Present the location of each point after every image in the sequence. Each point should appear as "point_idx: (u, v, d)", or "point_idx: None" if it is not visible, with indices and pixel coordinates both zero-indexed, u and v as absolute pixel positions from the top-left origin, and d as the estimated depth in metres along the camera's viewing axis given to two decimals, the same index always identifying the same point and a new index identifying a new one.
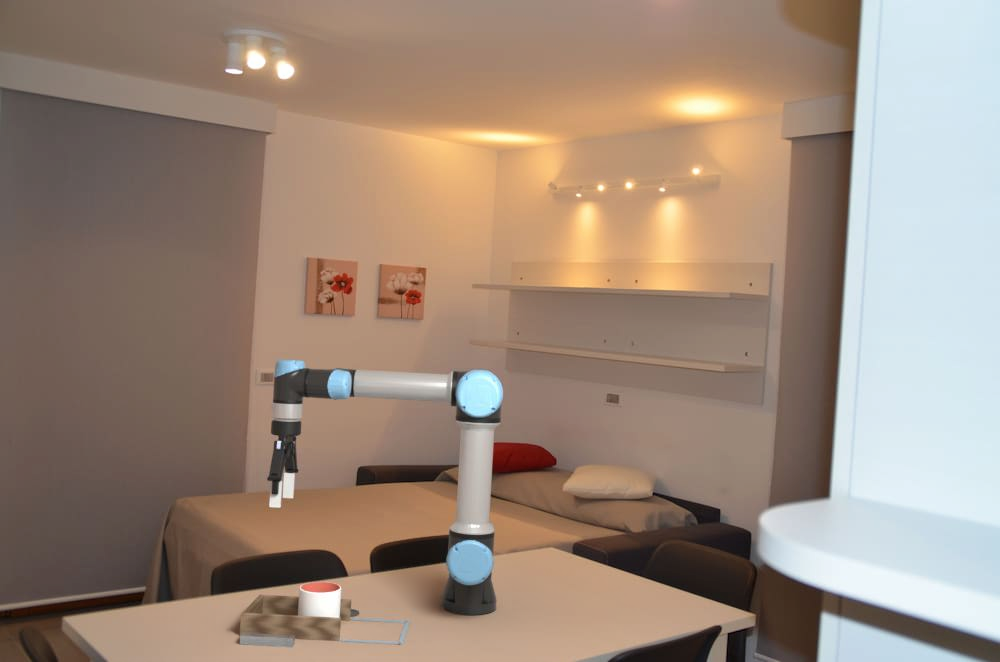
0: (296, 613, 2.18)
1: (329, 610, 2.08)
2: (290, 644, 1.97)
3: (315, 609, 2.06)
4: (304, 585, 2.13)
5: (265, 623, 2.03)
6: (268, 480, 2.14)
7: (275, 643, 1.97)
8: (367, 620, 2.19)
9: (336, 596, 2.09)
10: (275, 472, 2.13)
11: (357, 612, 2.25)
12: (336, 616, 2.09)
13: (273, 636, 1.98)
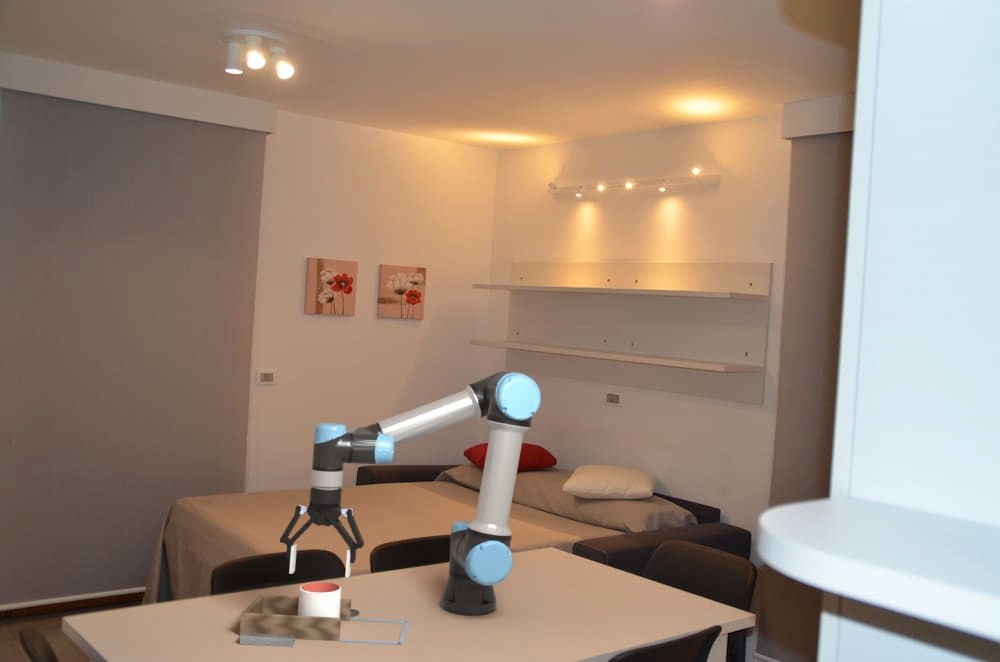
0: (296, 613, 2.18)
1: (329, 610, 2.08)
2: (290, 644, 1.97)
3: (315, 609, 2.06)
4: (304, 585, 2.13)
5: (265, 623, 2.03)
6: None
7: (275, 643, 1.97)
8: (367, 620, 2.19)
9: (336, 596, 2.09)
10: (283, 534, 2.11)
11: (357, 612, 2.25)
12: (336, 616, 2.09)
13: (273, 636, 1.98)
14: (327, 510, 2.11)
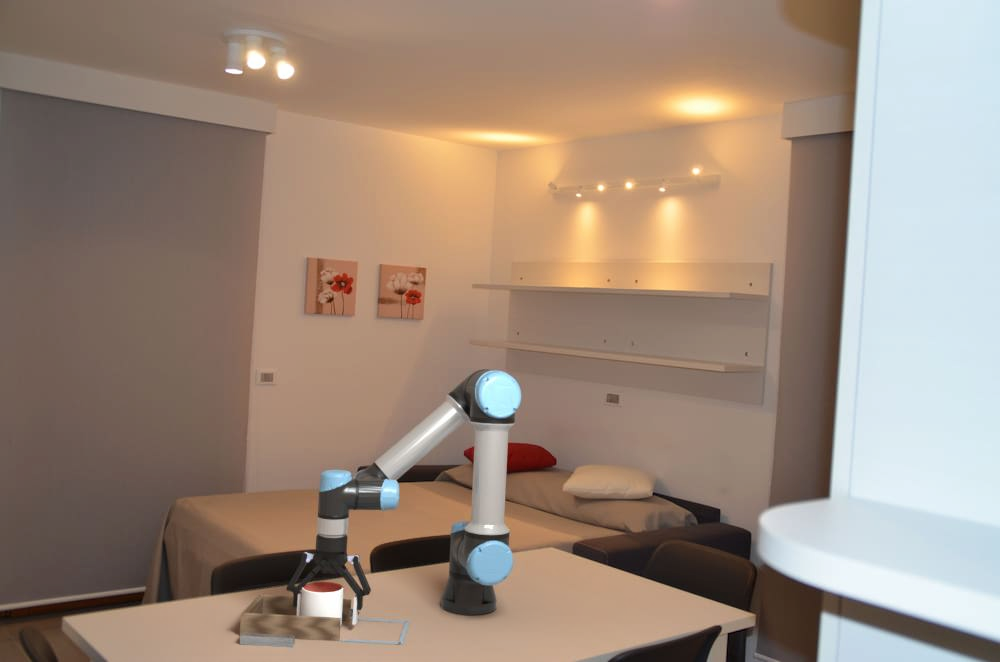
0: (296, 613, 2.18)
1: (332, 610, 2.08)
2: (290, 644, 1.97)
3: (318, 609, 2.06)
4: (306, 585, 2.13)
5: (265, 623, 2.03)
6: None
7: (275, 643, 1.97)
8: (367, 620, 2.19)
9: (339, 596, 2.09)
10: None
11: None
12: (338, 616, 2.09)
13: (273, 636, 1.98)
14: (333, 558, 2.10)
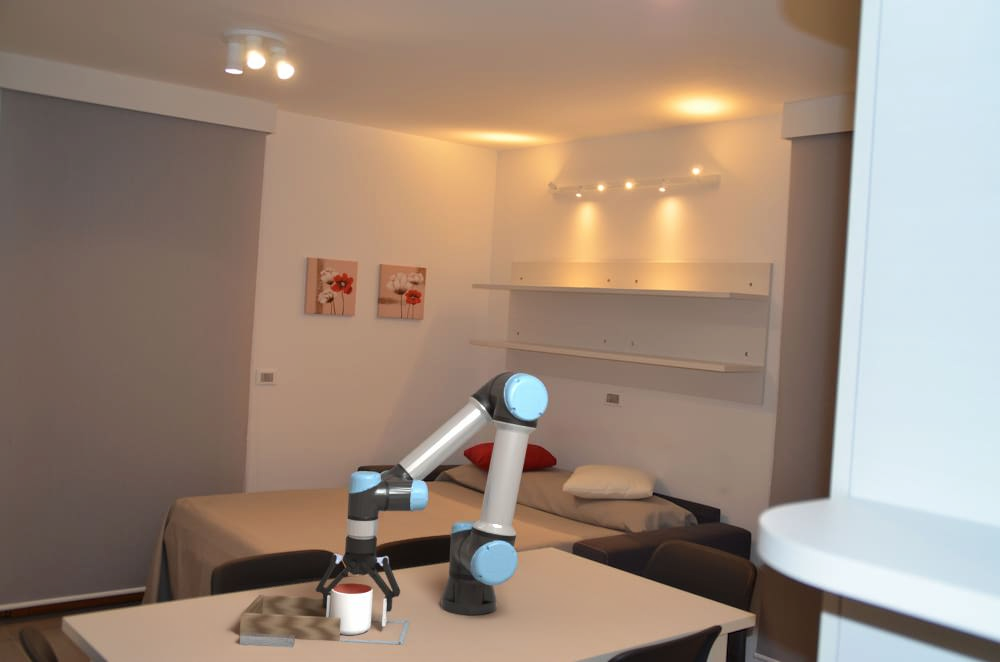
0: (296, 613, 2.18)
1: (362, 611, 2.08)
2: (290, 644, 1.97)
3: (348, 611, 2.06)
4: (335, 586, 2.13)
5: (265, 623, 2.03)
6: None
7: (275, 643, 1.97)
8: None
9: (369, 598, 2.09)
10: None
11: None
12: (368, 617, 2.10)
13: (273, 636, 1.98)
14: (363, 559, 2.11)
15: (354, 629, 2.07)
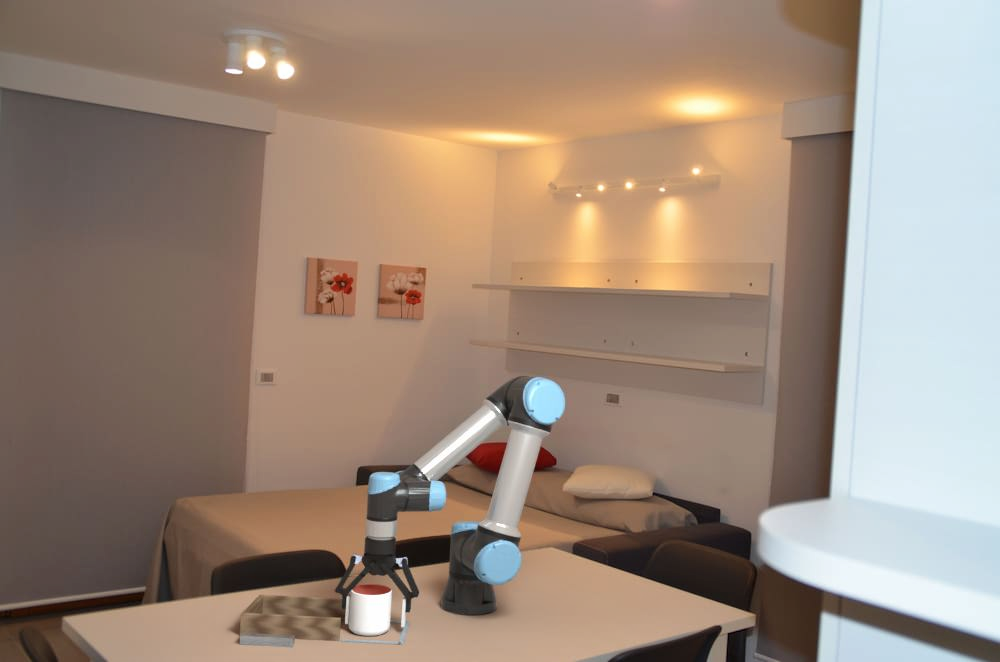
0: (296, 613, 2.18)
1: (381, 612, 2.08)
2: (290, 644, 1.97)
3: (368, 612, 2.06)
4: (354, 587, 2.13)
5: (265, 623, 2.03)
6: None
7: (275, 643, 1.97)
8: None
9: (388, 599, 2.09)
10: None
11: None
12: (388, 618, 2.10)
13: (273, 636, 1.98)
14: (382, 560, 2.11)
15: (374, 630, 2.07)
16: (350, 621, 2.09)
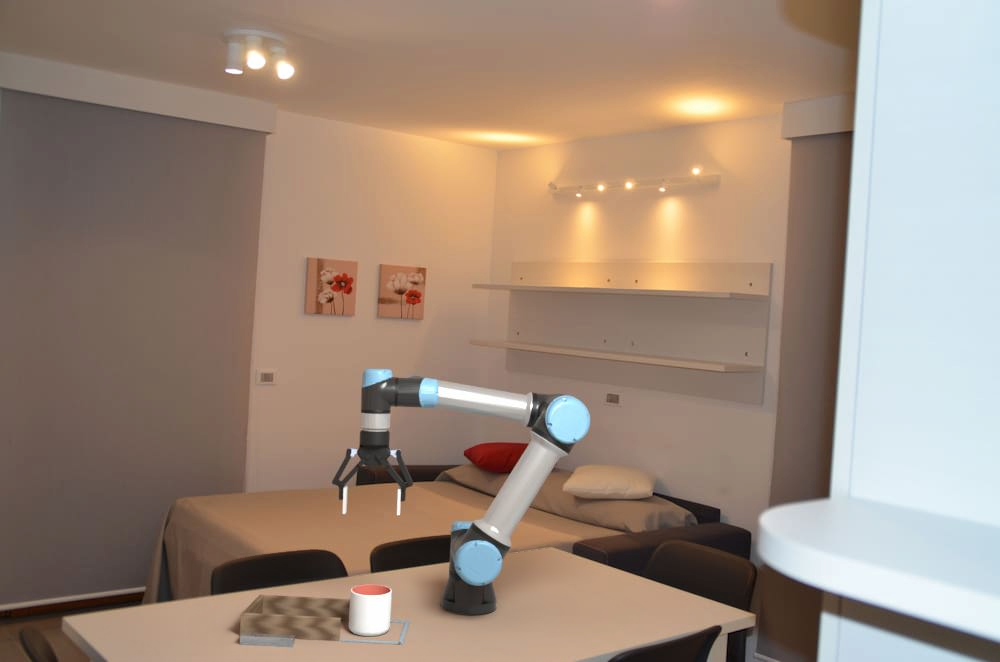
0: (296, 613, 2.18)
1: (381, 613, 2.08)
2: (290, 644, 1.97)
3: (368, 612, 2.06)
4: (354, 588, 2.13)
5: (265, 623, 2.03)
6: None
7: (275, 643, 1.97)
8: None
9: (388, 599, 2.09)
10: None
11: None
12: (388, 619, 2.10)
13: (273, 636, 1.98)
14: (377, 451, 2.19)
15: (374, 630, 2.07)
16: (350, 621, 2.09)
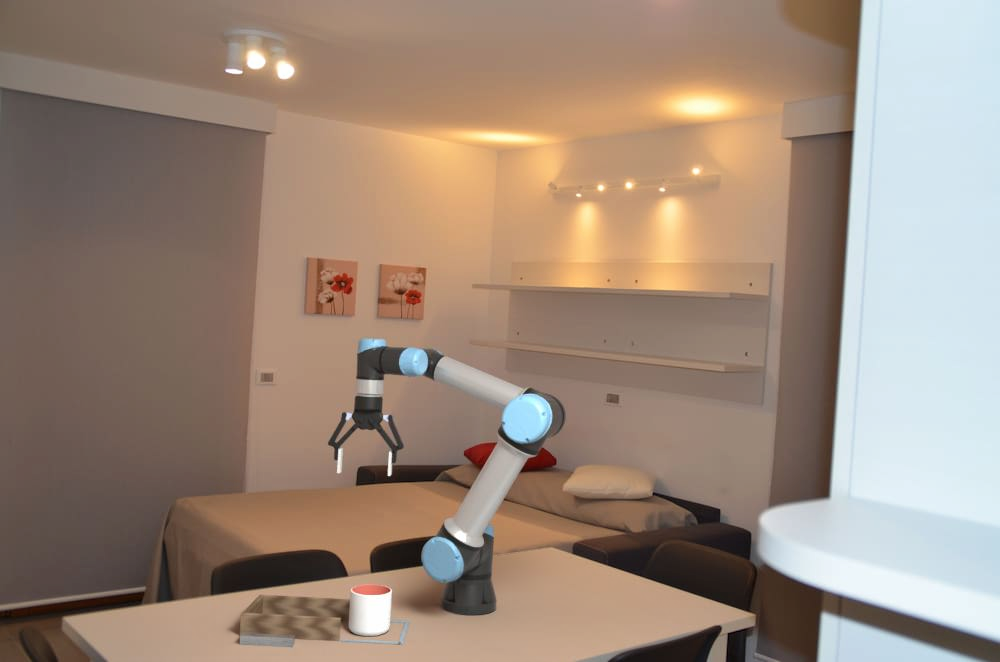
0: (296, 613, 2.18)
1: (381, 613, 2.08)
2: (290, 644, 1.97)
3: (368, 612, 2.06)
4: (354, 588, 2.13)
5: (265, 623, 2.03)
6: None
7: (275, 643, 1.97)
8: None
9: (388, 599, 2.09)
10: None
11: None
12: (388, 619, 2.10)
13: (273, 636, 1.98)
14: (370, 416, 2.33)
15: (374, 630, 2.07)
16: (350, 621, 2.09)
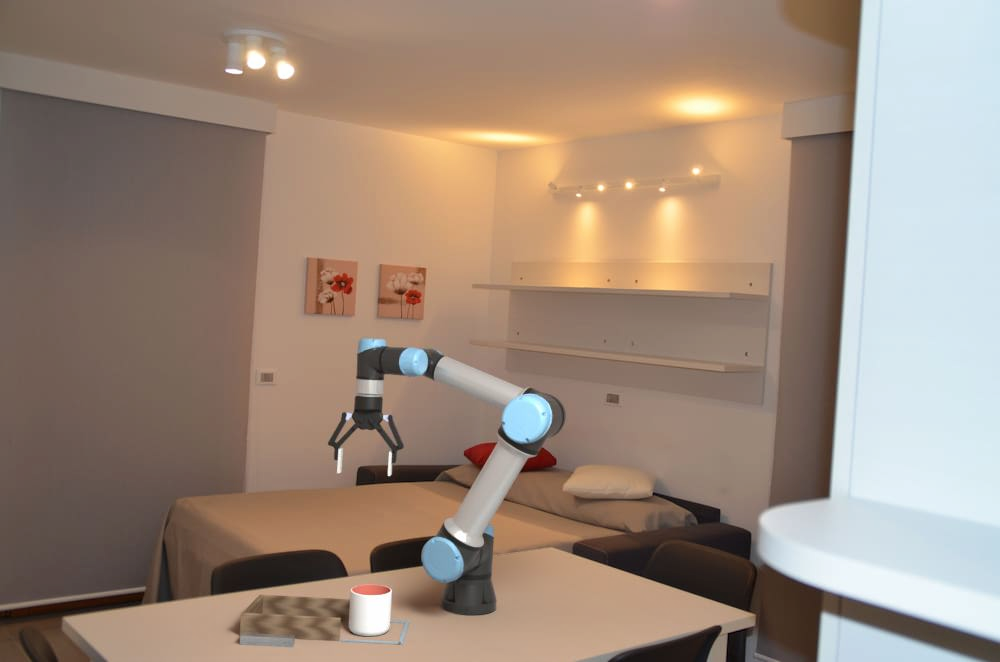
0: (296, 613, 2.18)
1: (381, 613, 2.08)
2: (290, 644, 1.97)
3: (368, 612, 2.06)
4: (354, 588, 2.13)
5: (265, 623, 2.03)
6: None
7: (275, 643, 1.97)
8: None
9: (388, 599, 2.09)
10: None
11: None
12: (388, 619, 2.10)
13: (273, 636, 1.98)
14: (370, 416, 2.33)
15: (374, 630, 2.07)
16: (350, 621, 2.09)
